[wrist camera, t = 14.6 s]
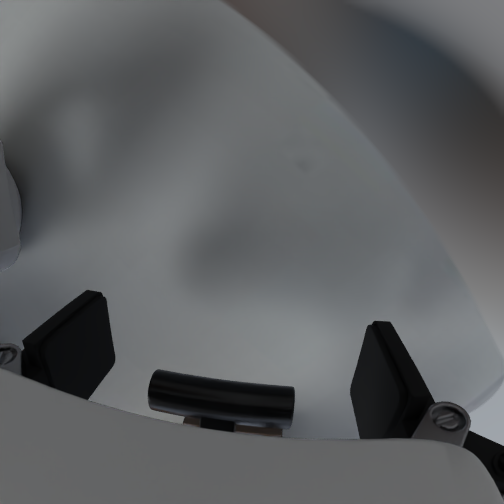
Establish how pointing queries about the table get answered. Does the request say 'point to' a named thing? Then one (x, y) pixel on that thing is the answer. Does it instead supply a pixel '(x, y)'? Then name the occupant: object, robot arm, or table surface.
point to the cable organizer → (9, 216)
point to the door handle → (221, 401)
